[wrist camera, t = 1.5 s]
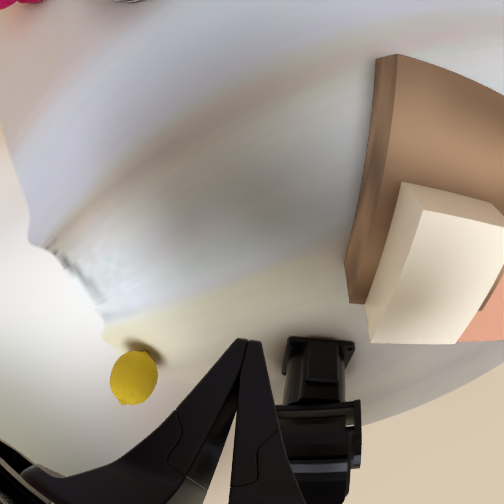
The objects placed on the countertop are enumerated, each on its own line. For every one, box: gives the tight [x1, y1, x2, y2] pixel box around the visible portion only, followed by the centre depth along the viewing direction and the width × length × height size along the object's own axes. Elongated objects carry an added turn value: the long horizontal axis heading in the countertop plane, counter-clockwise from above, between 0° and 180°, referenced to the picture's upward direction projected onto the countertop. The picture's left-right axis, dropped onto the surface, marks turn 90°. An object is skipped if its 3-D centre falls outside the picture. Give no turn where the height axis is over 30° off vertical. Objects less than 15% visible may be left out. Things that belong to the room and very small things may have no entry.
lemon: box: [110, 351, 158, 405], centre depth 29 cm, size 6×6×8 cm
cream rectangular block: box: [365, 182, 504, 344], centre depth 12 cm, size 8×6×3 cm
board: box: [344, 54, 504, 311], centre depth 13 cm, size 14×11×4 cm
